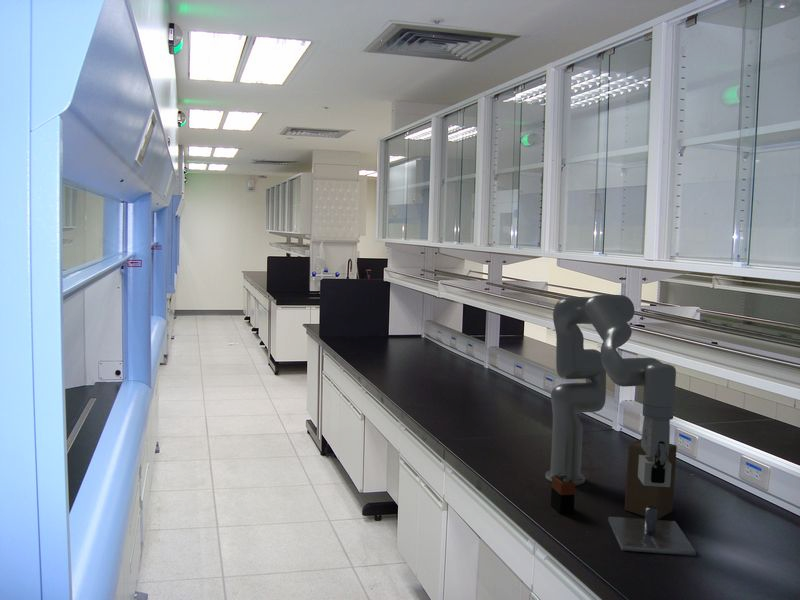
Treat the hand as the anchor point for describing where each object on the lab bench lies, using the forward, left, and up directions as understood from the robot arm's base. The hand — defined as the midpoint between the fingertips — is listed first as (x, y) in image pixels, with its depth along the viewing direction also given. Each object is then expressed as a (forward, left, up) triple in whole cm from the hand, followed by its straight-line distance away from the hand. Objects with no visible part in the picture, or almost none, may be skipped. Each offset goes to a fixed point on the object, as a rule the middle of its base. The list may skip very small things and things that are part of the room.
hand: (654, 477), depth 181 cm
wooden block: (-18, +4, -17) cm, 25 cm away
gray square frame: (0, 0, -1) cm, 1 cm away
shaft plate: (0, 0, -17) cm, 17 cm away
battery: (-15, -21, -17) cm, 31 cm away
